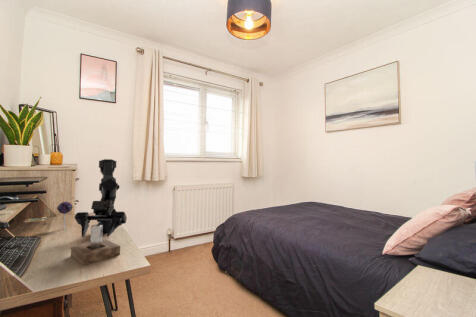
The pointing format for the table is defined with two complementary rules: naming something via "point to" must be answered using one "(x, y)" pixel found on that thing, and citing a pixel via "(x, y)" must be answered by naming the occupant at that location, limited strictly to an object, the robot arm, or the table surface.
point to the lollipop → (64, 209)
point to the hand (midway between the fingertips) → (95, 236)
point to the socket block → (94, 252)
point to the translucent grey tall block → (96, 236)
